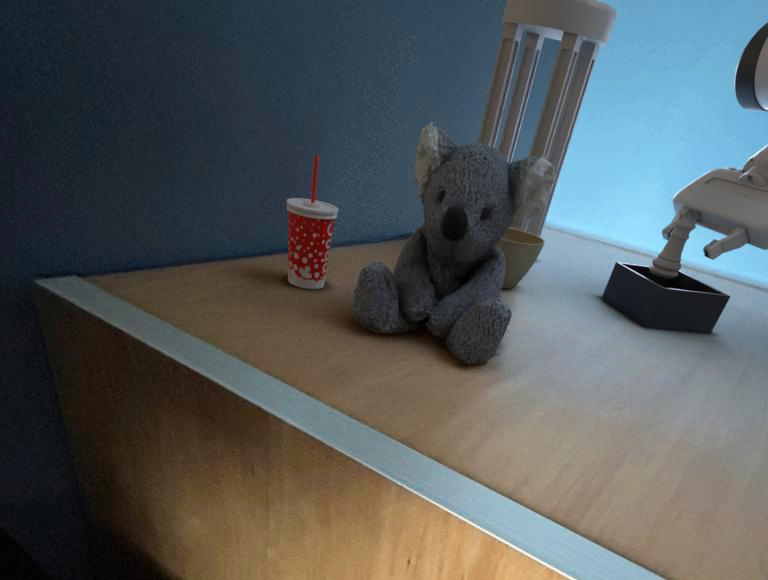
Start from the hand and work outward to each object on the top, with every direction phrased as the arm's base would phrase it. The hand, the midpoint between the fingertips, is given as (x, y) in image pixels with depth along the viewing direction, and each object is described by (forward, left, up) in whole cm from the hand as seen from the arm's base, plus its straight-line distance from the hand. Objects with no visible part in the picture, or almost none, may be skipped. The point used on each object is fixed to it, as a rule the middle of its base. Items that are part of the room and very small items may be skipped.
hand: (685, 245), depth 82 cm
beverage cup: (+54, 0, -11) cm, 55 cm away
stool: (+16, -27, -11) cm, 33 cm away
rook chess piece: (-1, -3, -5) cm, 6 cm away
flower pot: (+23, -9, -11) cm, 27 cm away
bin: (-1, -1, -10) cm, 10 cm away
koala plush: (+40, +12, -11) cm, 43 cm away
